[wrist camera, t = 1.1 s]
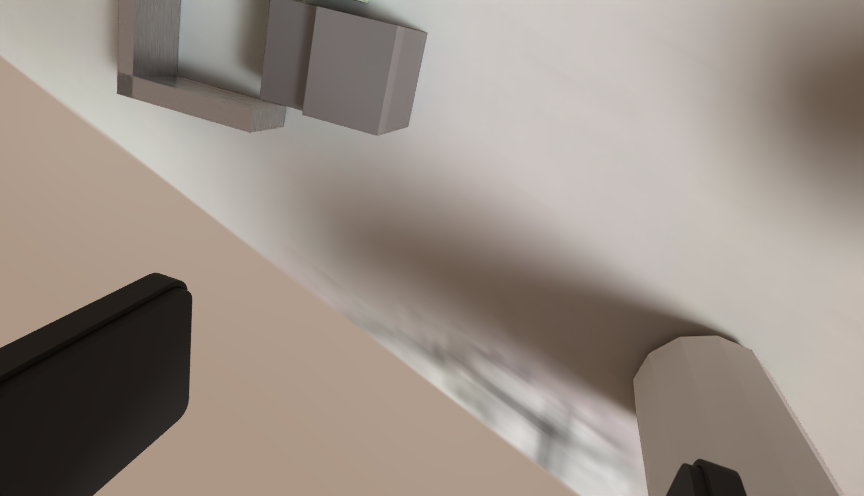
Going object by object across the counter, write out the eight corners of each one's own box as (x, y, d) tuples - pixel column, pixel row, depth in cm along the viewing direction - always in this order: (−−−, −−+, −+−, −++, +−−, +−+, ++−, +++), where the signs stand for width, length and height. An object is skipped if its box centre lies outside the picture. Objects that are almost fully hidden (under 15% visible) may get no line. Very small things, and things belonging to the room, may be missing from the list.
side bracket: (167, -44, 31) (119, -58, 28) (301, -13, 30) (266, -24, 27) (161, 91, 34) (117, 93, 31) (283, 126, 32) (250, 132, 29)
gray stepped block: (309, 4, 30) (259, -8, 26) (428, 33, 29) (397, 25, 24) (297, 95, 32) (248, 99, 27) (408, 126, 31) (377, 135, 26)
